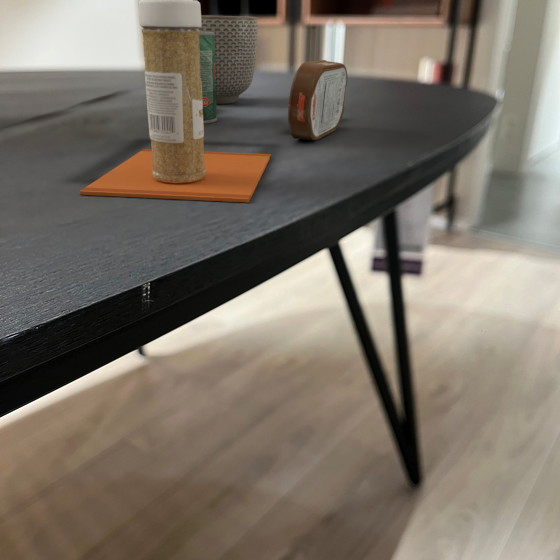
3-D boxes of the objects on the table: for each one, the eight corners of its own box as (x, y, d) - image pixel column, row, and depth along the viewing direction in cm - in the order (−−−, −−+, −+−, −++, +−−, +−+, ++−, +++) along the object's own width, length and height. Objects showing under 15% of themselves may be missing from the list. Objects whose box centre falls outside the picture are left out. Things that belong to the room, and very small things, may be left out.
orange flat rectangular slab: (80, 194, 44) (79, 190, 43) (143, 151, 58) (143, 148, 58) (248, 202, 43) (248, 198, 42) (270, 157, 57) (270, 153, 57)
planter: (161, 104, 90) (155, 14, 85) (189, 95, 103) (185, 15, 97) (246, 109, 88) (246, 16, 83) (264, 98, 101) (265, 17, 95)
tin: (324, 125, 76) (328, 57, 72) (347, 127, 75) (352, 58, 71) (284, 145, 63) (286, 63, 59) (311, 148, 62) (314, 65, 58)
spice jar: (217, 178, 48) (213, -1, 42) (172, 188, 45) (161, -3, 39) (184, 168, 51) (176, 0, 45) (139, 177, 48) (125, -3, 42)
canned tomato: (226, 117, 80) (224, 31, 75) (202, 126, 73) (198, 32, 68) (174, 114, 82) (170, 30, 77) (146, 122, 75) (140, 30, 70)
